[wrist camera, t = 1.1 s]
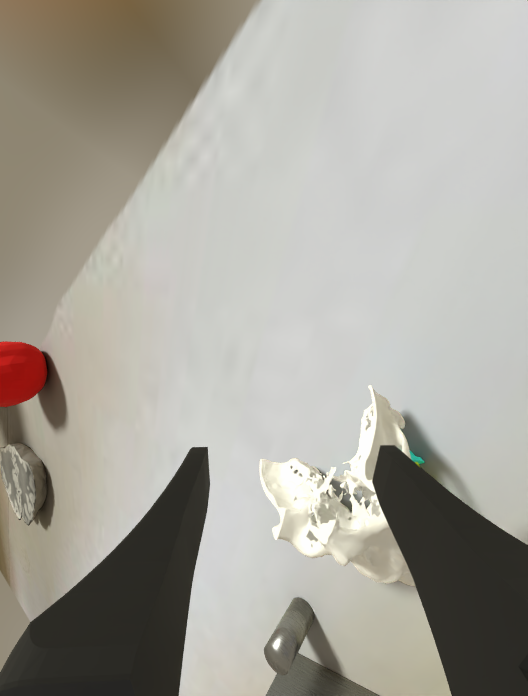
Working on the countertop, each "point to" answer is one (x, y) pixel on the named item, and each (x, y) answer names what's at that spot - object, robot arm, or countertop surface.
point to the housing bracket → (302, 660)
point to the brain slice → (23, 480)
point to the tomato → (20, 372)
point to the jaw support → (332, 516)
